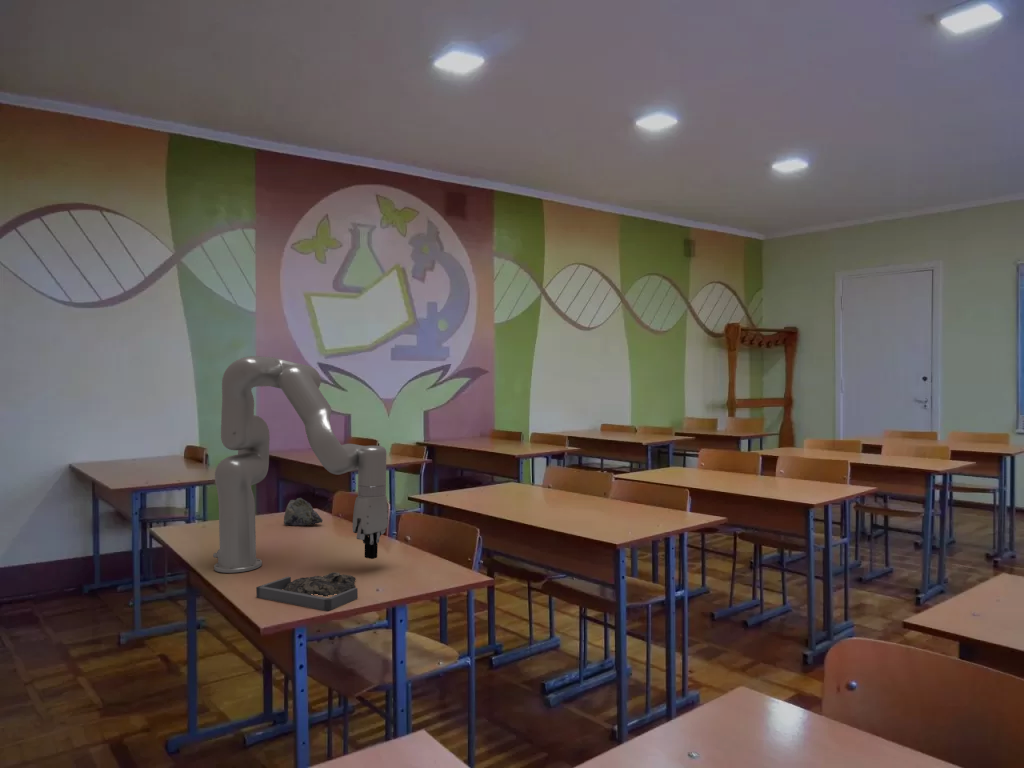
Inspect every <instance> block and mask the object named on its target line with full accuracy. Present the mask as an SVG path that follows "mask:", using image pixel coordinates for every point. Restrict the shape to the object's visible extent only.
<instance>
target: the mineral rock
mask: <svg viewBox="0 0 1024 768" xmlns="http://www.w3.org/2000/svg"><path fill="white" fill-rule="evenodd" d="M319 523H323V518H322V517H320V515H319V514H318V513H317V511H315V510H314V508H313V506H312V504H311V503H310V502H309V501H307V500H305V499H303V498H302V497H297V498H296V499H290V500H289V502H288V504H287V505H286V509H285V511H284V516H283V524H284V525H285V526H306V525H307V526H310V525H312V526H313V525H316V524H319Z"/></svg>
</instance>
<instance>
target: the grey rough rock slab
mask: <svg viewBox="0 0 1024 768" xmlns="http://www.w3.org/2000/svg"><path fill="white" fill-rule="evenodd" d="M356 579H357V578H356V577H355V576H353V575H351V574H344V573H343V574H341V573H340V572H338V571H337V572H335V571H334V572H332V571H331V572H330V573H328V574H325V575H323V576H321V575H315V576H310V577H309V576H308V577H300V578H297V579H294V580H293V581H292V580H291V583H289V584H288V585H286V587H285V588H284V589H283V590H286V591H291V592H297V593H302V594H308V595H311V594H313V596H315V595H314V594H318V595H323V596H322V597H326V596H327V597H329V596H328V595H332V596H335V595H334V594H340V593H342V592H345V591H347V590H350V589H352V588H357V587H356V584H355V582H356V581H357V580H356ZM355 580H356V581H355ZM318 595H317V596H318Z"/></svg>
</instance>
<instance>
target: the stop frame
mask: <svg viewBox="0 0 1024 768" xmlns="http://www.w3.org/2000/svg"><path fill="white" fill-rule="evenodd" d="M291 582H292V577H291V576H286V577H282V578H280V579H277V580H273V581H271V582H268V583H264V584H261V585H259V586H256V588H255V589H256V590H255V591H256V596H255V597H256V598H257V599H263V600H267V599H268V600H269V601H273V600H274V602H278V603H279V602H280V603H283V602H284V603H285V604H288V603H289V604H290V605H293V604H294V605H295V606H298V605H299V606H298V607H304V608H309V609H315V610H320V611H325V612H329V611H332V610H334V609H337V608H338V607H341V606H344V605H346V604H348V603H350V602H353V601H355V599H356V600H358V599H357V598H358V594H359V593H358V592H359V591H358V589H359V588H357V587H355V588H352V589H350V590H347V591H345V592H342V593H340V594H337V595H332V596H329V597H325V596H318V595H308V594H302V593H297V592H291V591H286V590H284V588H285V587H286V585H288V584H289V583H291ZM282 589H283V590H282ZM289 604H288V605H289Z"/></svg>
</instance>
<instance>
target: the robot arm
mask: <svg viewBox="0 0 1024 768" xmlns="http://www.w3.org/2000/svg"><path fill="white" fill-rule="evenodd" d="M321 381H322V380H321V375H320V373H319V372H318V370H317V369H316V368H314V367H313V366H310V365H309V364H308V365H307V364H302V363H299V362H293V361H289V360H285V359H283V358H277V357H273V356H272V357H271V356H256V355H253V356H246V357H241V358H239V359H235V360H234V361H233V362H232V363H230V364H229V365H228V366H227V368H226V369H225V371H224V372H223V376H222V379H221V414H220V415H221V417H220V418H221V421H220V422H221V424H220V439H221V444H223V446H224V447H225V448H226V449H227V450H230V451H237V454H233V455H230V456H227V457H225V458H224V459H222V460H220V461H219V463H218V464H217V465H216V468H215V471H214V481H215V486H216V491H217V497H218V498H217V500H218V527H219V531H218V532H219V537H218V538H219V549H218V550H216V552H214V553H213V555H212V557H213V558H215V559H217V562H216V563H215V564H214V565H213V568H214V569H213V570H214V571H215V572H217V573H222V574H223V573H224V574H226V573H227V574H235V573H237V574H238V573H244V572H248V571H253V570H255V569H259V568H261V566H263V561H262V560H261V559H260V558H257V545H256V543H257V540H256V537H257V531H256V503H255V496H254V492H253V490H252V486H253V485H255V484H259V483H260V482H262V481H263V480H264V479H266V476H267V474H268V471H269V466H270V465H269V464H270V440H271V439H270V429H269V426H268V424H267V422H266V421H265V420H264V418H262V417H260V416H259V415H255V411H254V410H255V400H254V395H253V391H252V389H253V388H256V387H258V388H259V387H261V388H262V387H272V388H276V389H281V391H282V392H283V394H284V395H285V396H286V398H287V400H288V402H289V403H290V404H291V406H292V407H293V409H294V410H295V412H296V413H297V415H298V417H299V418H300V419H301V421H302V423H303V426H304V429H305V435H306V437H307V440H308V443H309V446H310V449H311V450H312V452H313V453H314V454H315V456H316V458H317V460H318V461H319V462H320V464H321V465H322V467H323V468H324V469H325V470H327V472H329V473H330V474H333V475H338V476H339V475H343V474H346V473H348V472H351V471H355V470H357V472H358V473H357V475H358V476H357V497H355V502H354V506H353V507H354V508H353V515H352V533H354V534H356V539H357V540H360V541H361V540H362V542H363V544H364V558H365V559H369V560H370V559H371V560H374V559H377V558H378V544H379V542H380V538H381V536H382V535H383V534H385V533H386V530H387V528H388V526H389V525H388V524H389V506H388V500H387V499H388V498H387V493H386V491H387V449H386V448H385V447H384V446H381V445H361V444H360V445H359V444H355V443H344V444H341V442H340V441H339V439H338V438H337V436H336V435H335V433H334V431H333V428H332V426H331V415H332V407H331V405H330V404H329V402H328V400H327V399H326V397H325V396H324V395H323V393H322V391H321V390H320V389H319V388H320V386H321V383H322V382H321Z"/></svg>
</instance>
